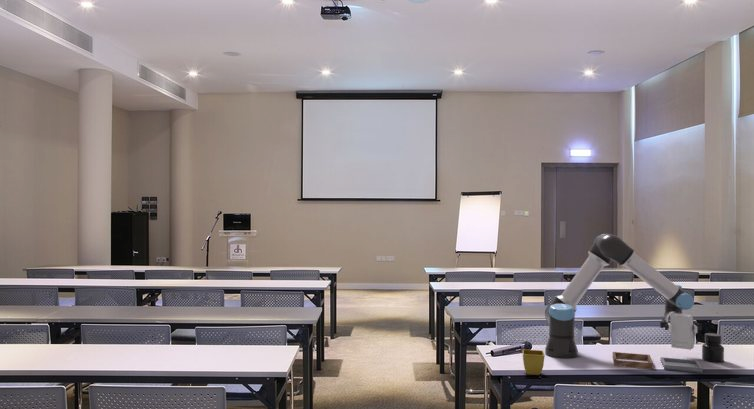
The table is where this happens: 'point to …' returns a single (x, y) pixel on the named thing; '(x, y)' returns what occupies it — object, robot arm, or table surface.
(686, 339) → the skincare box
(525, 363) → the flower pot
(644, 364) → the wooden tray
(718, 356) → the ink bottle
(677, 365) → the tray
